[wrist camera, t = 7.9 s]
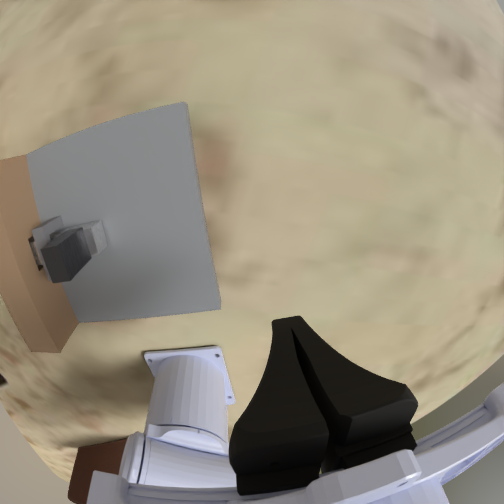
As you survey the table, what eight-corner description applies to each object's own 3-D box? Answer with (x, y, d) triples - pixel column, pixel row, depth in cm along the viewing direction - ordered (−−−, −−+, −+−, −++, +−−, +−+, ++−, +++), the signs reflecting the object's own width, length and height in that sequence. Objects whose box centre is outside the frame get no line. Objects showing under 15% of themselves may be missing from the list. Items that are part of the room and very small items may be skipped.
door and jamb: (187, 104, 17) (171, 90, 12) (221, 299, 24) (220, 345, 18) (9, 166, 17) (-34, 178, 11) (56, 315, 23) (31, 351, 18)
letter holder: (78, 446, 35) (63, 501, 22) (136, 433, 32) (124, 511, 20) (116, 468, 39) (107, 520, 26) (181, 458, 36) (178, 527, 23)
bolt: (100, 217, 18) (65, 243, 13) (108, 247, 19) (78, 279, 14) (16, 239, 18) (-19, 264, 13) (24, 263, 19) (-8, 291, 14)
